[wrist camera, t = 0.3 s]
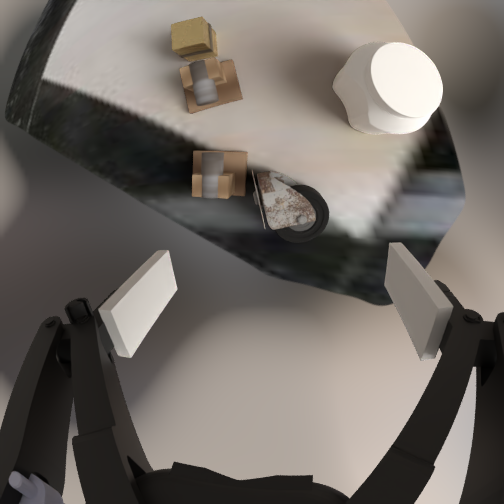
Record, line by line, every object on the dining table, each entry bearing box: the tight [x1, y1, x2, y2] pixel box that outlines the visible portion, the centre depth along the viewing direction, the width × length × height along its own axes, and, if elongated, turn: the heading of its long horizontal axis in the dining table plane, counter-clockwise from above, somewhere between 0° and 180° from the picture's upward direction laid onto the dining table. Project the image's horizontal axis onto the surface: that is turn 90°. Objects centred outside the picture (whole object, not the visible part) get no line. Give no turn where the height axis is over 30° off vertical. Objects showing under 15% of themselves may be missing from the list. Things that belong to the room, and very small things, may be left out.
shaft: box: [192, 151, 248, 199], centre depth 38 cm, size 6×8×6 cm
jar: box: [332, 42, 443, 134], centre depth 26 cm, size 12×10×15 cm
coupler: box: [171, 17, 218, 62], centre depth 30 cm, size 5×5×7 cm
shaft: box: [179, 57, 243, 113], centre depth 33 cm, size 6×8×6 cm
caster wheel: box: [252, 170, 329, 243], centre depth 39 cm, size 7×11×10 cm
